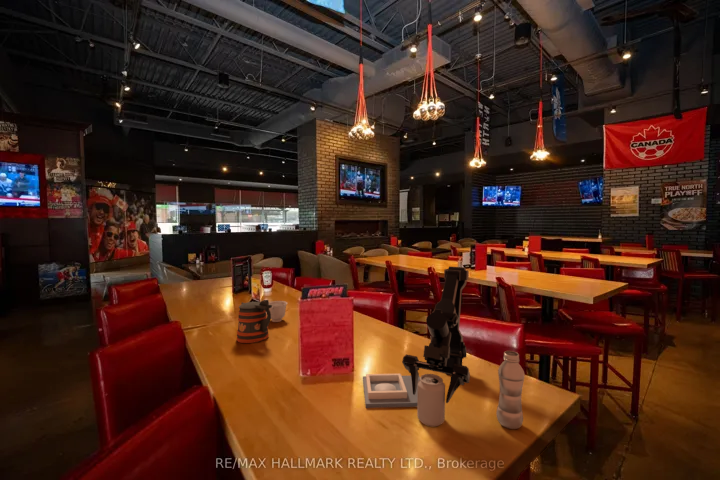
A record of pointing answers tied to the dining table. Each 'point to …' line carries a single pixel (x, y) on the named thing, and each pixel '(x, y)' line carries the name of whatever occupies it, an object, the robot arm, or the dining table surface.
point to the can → (431, 400)
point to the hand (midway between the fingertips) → (429, 398)
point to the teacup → (277, 310)
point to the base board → (389, 391)
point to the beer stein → (253, 321)
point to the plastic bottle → (510, 391)
